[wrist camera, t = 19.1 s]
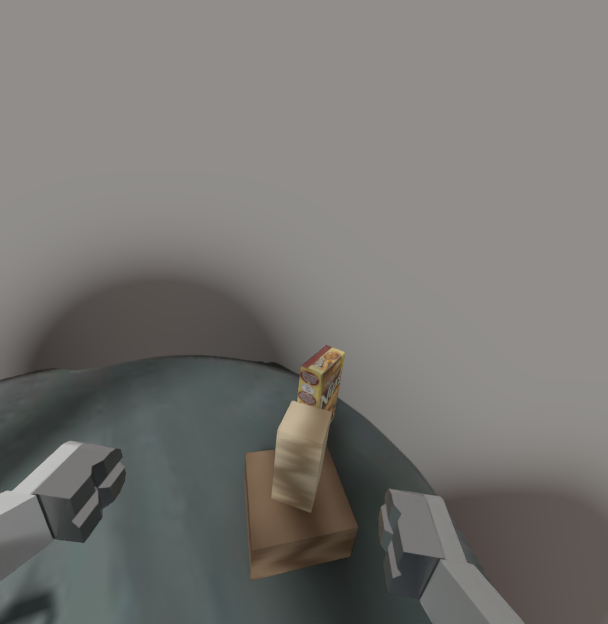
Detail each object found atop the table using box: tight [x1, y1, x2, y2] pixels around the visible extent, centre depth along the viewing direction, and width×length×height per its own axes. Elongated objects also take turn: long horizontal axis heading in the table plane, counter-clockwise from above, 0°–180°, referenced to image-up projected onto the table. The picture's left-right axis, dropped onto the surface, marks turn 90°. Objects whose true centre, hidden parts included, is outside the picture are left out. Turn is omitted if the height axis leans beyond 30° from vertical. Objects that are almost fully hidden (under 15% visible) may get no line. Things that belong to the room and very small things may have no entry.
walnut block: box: [245, 444, 358, 581], centre depth 38 cm, size 12×12×6 cm
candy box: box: [297, 345, 345, 423], centre depth 50 cm, size 9×4×15 cm, turn 148°
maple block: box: [271, 401, 332, 513], centre depth 34 cm, size 5×5×11 cm
